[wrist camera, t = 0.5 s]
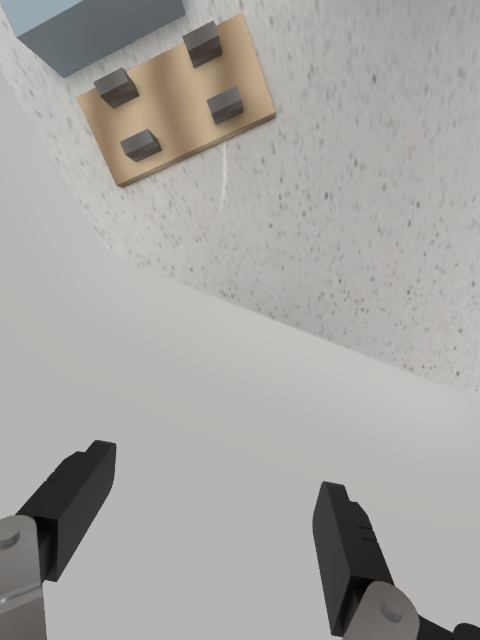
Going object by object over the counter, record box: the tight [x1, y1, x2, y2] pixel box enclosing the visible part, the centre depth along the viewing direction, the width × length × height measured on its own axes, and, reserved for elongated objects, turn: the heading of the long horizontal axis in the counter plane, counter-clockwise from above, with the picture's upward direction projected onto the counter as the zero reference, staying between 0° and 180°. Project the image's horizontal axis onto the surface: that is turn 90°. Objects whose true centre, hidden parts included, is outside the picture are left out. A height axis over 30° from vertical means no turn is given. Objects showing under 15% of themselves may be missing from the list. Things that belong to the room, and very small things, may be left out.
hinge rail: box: [77, 13, 276, 188], centre depth 32 cm, size 18×9×4 cm, turn 112°
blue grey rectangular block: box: [0, 0, 185, 78], centre depth 29 cm, size 14×3×7 cm, turn 112°
